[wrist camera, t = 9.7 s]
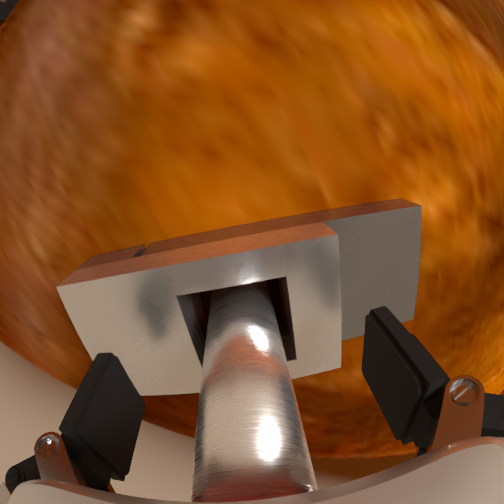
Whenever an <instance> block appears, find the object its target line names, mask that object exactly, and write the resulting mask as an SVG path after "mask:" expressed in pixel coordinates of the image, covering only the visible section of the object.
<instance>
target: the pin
mask: <svg viewBox="0 0 504 504" xmlns="http://www.w3.org/2000/svg"><path fill="white" fill-rule="evenodd" d="M316 490H318V488H317V483H316V479H315V475H314V471H313V466H312V462H311V458H310V454H309V450H308V446H307V441H306V437H305V433H304V429H303V425H302V421H301V417H300V412H299V408H298V404H297V400H296V396H295V392H294V388H293V384H292V380H291V376H290V372H289V368H288V364H287V360H286V356H285V352H284V348H283V344H282V339H281V335H280V331H279V328H278V324H277V320H276V316H275V312H274V308H273V304H272V300H271V296H270V292H269V288H268V284H267V280H264V281H259V282H253V283H248V284H242V285H237V286H231V287H226V288H220V289H214V290H213V291H212V298H211V305H210V312H209V320H208V327H207V335H206V343H205V351H204V359H203V368H202V376H201V385H200V395H199V404H198V414H197V425H196V436H195V447H194V459H193V473H192V487H191V502H238V501H251V500H261V499H270V498H277V497H284V496H290V495H296V494H301V493H306V492H311V491H316Z"/></svg>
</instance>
